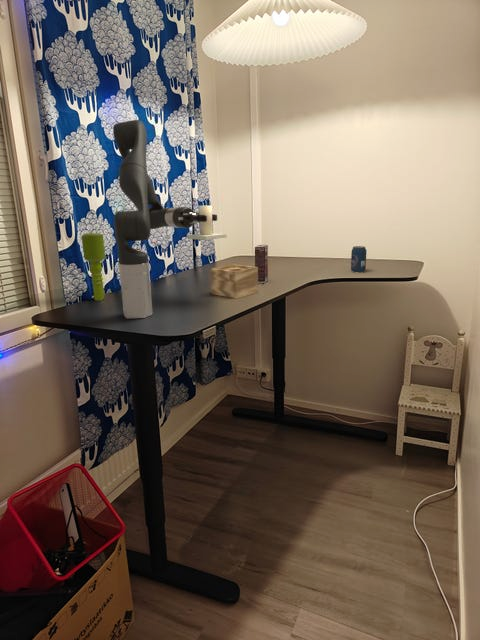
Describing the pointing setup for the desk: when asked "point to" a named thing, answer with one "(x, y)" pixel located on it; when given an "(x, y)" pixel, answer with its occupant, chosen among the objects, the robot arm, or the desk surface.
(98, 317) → the desk surface
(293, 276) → the desk surface
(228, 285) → the box
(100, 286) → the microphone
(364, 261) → the soda can
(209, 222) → the lid
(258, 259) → the supplement box
